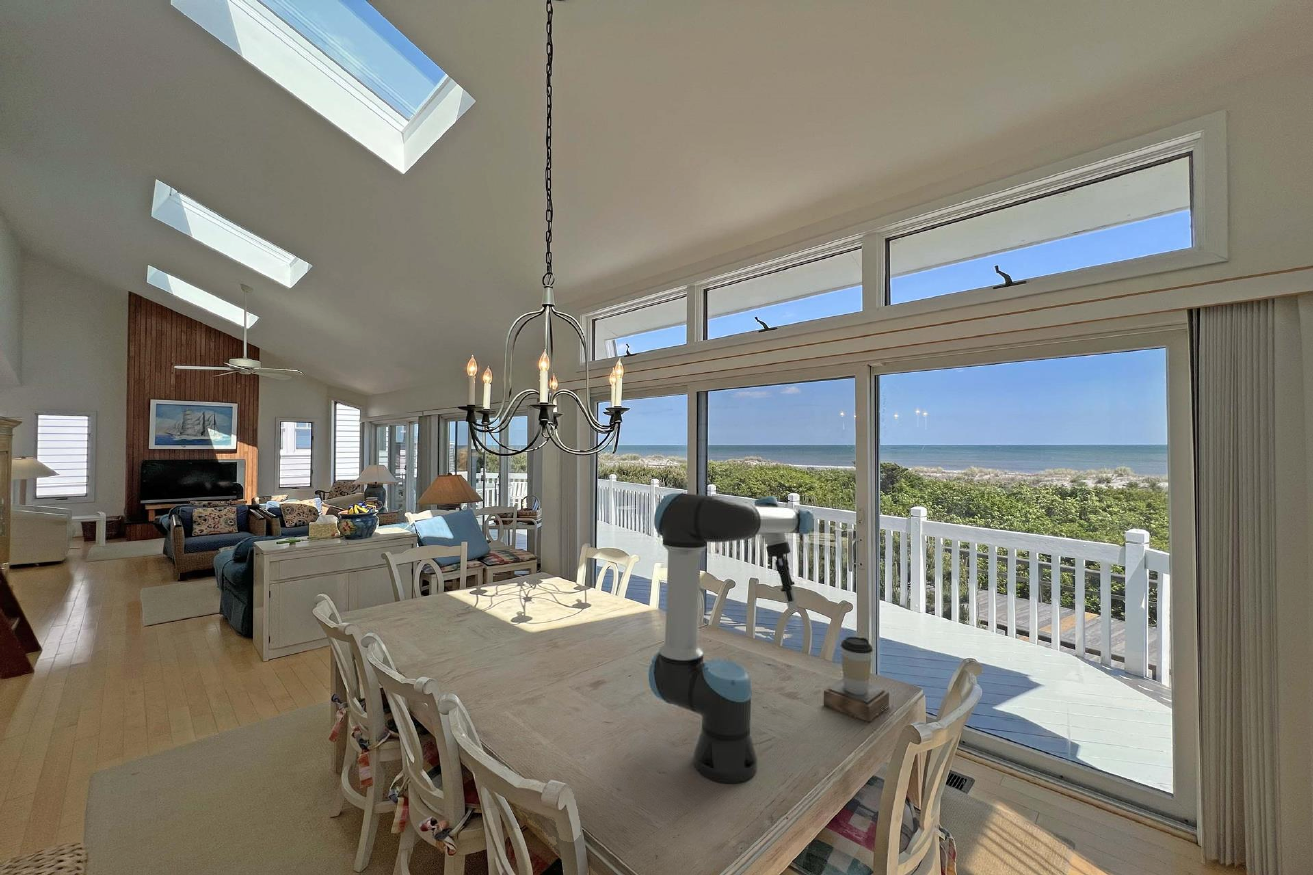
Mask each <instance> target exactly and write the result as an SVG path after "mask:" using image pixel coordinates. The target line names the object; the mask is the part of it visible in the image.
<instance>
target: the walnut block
mask: <svg viewBox="0 0 1313 875" xmlns="http://www.w3.org/2000/svg"><path fill="white" fill-rule="evenodd" d="M823 706H826V707H828V708H831V709H833V708H834V710H835V709H836V711H838V710H840V711H839V712H841V713H843V712H845V713H844V714H846V713H847V715H849V714H851V715H853V716H852V717H854V716H856V717H858V718H857V719H859V718H860V719H859V720H862V719H864V720H866V721H865V722H867V721H871V720H872V719H873V718H874V717H875V716H877V714H879V713H880V712H881V711H882V710H884V709H885V708H886V707H887V706H889V707H890V692H889V691H888V690H885V689H883V688H880V687H877V686H874V685H873V684H872V685H871V684H869V685H868V693H866V694H862V695H860V694H854V693H850V692H848V691H847V690H845V689H844V678H841V679H840V680H838V681H837V682H835V683H833V684H831V685H830V686H828V687H827V688H825V689H824V690H823ZM886 709H887V708H886ZM886 709H885V710H886ZM885 710H884V711H885ZM880 714H881V713H880ZM880 714H879V715H880ZM851 715H850V716H851ZM856 717H855V718H856ZM877 717H878V716H877ZM875 718H876V717H875ZM875 718H874V719H875ZM874 719H873V720H874ZM864 720H863V721H864ZM873 720H872V721H873ZM872 721H871V722H872Z"/></svg>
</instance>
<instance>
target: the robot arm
mask: <svg viewBox="0 0 1313 875" xmlns="http://www.w3.org/2000/svg"><path fill="white" fill-rule="evenodd" d="M653 516H654V517H653V526H654V528H655V530H656V533H657V534H658V535H660V536H661V537H662V547H664V548H665V549H666V551H667V570H666V571H667V572H666V573H667V574H666V604H665V605H666V607H665V633H664V643H663V644H662V645H661V646H660V647H659V649H658V652H656V653H655V654H654V655H653V657H652V659H651V663H650V665H649V667H648V668H649V669H648V684H649V687H650V690H651V692H652V693H653V694H654V696H655V697H656V698H658V699H660V700H662V701H664V702H666V703H667V704H669V705H675V706H677V707H679V708H682V709H686V710H688V711H690V712H693V713H695V714H698V715H701V731H700V734H699V737H698V740H697V743H696V745H695V748H694V752H693V753H694V754H693V764H694V767H695V769H696V771H697V772H698V773H699V774H700V775H701V776H703V777H705V778H706V779H708V780H711V781H714V782H717V783H722V784H723V783H724V784H738V783H743V782H746V781H748V780H750V779H751V778H753V777H754V775H756V773H757V770H758V769H757V768H758V764H757V763H758V758H757V754H756V751H755V750H756V749H755V746H754V743H753V740H752V736H751V708H752V707H751V706H752V705H751V704H752V702H751V701H752V684H751V682H752V681H751V680H752V679H751V677H750V674H749V672H748V671H747V670H746V669H745V668H744V667H743V666H742V665H740V664H738V663H736V662H735V661H731V660H728V659H723V660H722V659H720V658H712V659H710V660H707V661H706V662H704V650H703V649H702V647H700V645H699V619H700V592H701V591H700V589H701V588H700V587H701V584H700V583H701V558H702V555H701V554H702V552H703V551H704V550H705V549H706V548H707V547H708V543H728V542H737V541H743V540H750V539H753V538H755V536H760V535H761V539H763V540H764V544H765V545H766V548H765V550H766V552H767V556H768V557H769V558H774V557H776V559H775V566H776V569H777V574H779V577H780V581H781V582H780V583H781V585H782V587H781V588H780V591H781V592H782V593H784V598H785V602H786V606H787V609H788V612H789V614H792V613H795V612H799V609H798V606H799V603H798V599H797V595H796V591H795V587H794V585H796V584H795V581H793V580H792V577H791V574H790V566H789V560H788V559H787V558H786V556H785V555H787V554H790V553H791V548H790V544H789V542H788V535H787V534H799V535H808V534H810V533H812V531H813V528H814V524H815V523H814V522H815V521H814V514H813V512H812V511H811V510H810V509H807V508H806V509H805V508H799V507H798V508H795V507H784V506H780V505H779V503H778V500H777V497H776V496H775V495H770V496H764V497H760V498H757V499H755V501H754V504H753V503H750V502H747V501H746V502H745V501H740V500H735V499H731V498H726V497H723V496H718V495H717V496H715V495H706V494H705V495H703V494H694V493H685V492H679V493H678V492H677V493H676V492H675V493H674V492H673V493H669V494H666V495H665V496H664V497H663V498H662V499H661V501H659V502H658V505H657V507H656V509H655V511H654V515H653Z"/></svg>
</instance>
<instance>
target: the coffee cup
mask: <svg viewBox="0 0 1313 875" xmlns="http://www.w3.org/2000/svg"><path fill="white" fill-rule="evenodd" d="M840 647H841V664H842V666H841V667H842V675H843V676H842V677H843V678H844V689H845V690H847V691H848V692H850V693H854V694H860V695H862V694H866V693H868V685H870V684H869V682H870V678H871V668H872V659H873V658H872V655H873V654H872V653H873V646H872V644H870V642H869V640H868V639H867V638H865V637H858V636H857V637H856V636H847V637H846V638H845V639H843V640H842V641H841V644H840ZM843 678H842V679H843Z"/></svg>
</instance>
